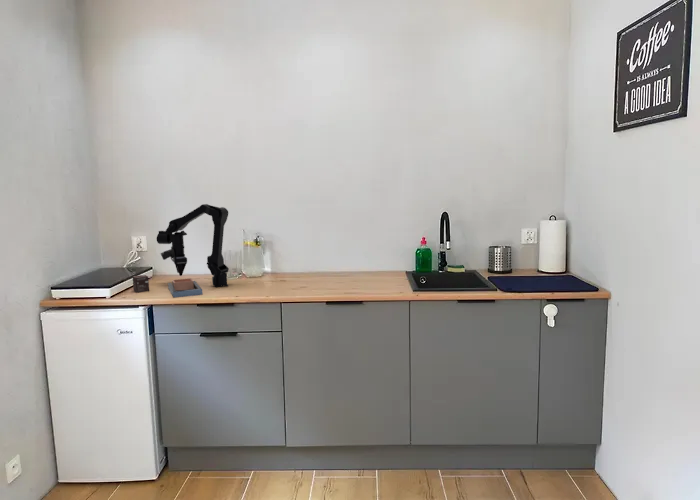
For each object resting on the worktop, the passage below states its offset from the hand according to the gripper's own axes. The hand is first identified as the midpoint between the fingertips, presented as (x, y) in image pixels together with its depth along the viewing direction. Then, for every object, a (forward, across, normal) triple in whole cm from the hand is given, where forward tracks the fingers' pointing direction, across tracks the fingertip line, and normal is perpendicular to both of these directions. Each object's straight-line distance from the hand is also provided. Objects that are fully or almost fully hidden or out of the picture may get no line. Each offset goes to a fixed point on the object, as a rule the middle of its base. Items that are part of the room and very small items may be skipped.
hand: (179, 274), depth 265 cm
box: (+6, +8, -19) cm, 21 cm away
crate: (+5, +13, 0) cm, 14 cm away
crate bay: (+5, +19, 0) cm, 20 cm away
